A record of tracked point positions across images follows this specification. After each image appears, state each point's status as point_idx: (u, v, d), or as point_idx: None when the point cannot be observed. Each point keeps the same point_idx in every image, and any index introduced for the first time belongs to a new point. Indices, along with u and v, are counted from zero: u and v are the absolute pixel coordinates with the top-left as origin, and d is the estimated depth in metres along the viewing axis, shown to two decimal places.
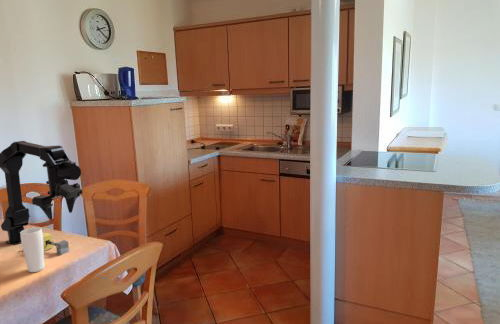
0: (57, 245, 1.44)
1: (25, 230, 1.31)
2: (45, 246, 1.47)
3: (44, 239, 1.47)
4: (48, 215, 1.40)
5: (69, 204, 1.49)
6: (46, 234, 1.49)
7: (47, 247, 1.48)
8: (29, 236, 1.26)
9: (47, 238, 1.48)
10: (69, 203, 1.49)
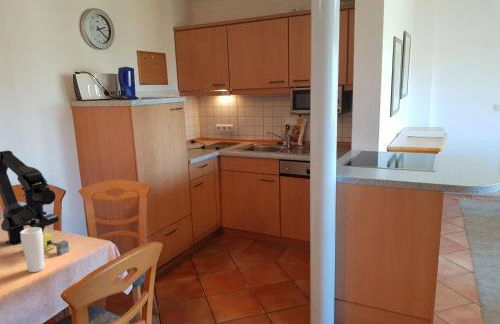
0: (57, 245, 1.44)
1: (25, 230, 1.31)
2: (46, 246, 1.47)
3: (45, 239, 1.46)
4: None
5: None
6: (47, 234, 1.49)
7: (48, 247, 1.48)
8: (29, 236, 1.26)
9: (48, 238, 1.48)
10: None
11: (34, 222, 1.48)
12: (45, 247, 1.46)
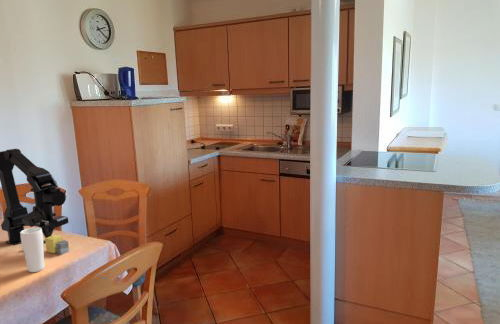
0: (57, 245, 1.44)
1: (25, 230, 1.31)
2: None
3: (55, 241, 1.44)
4: None
5: None
6: (57, 236, 1.47)
7: None
8: (29, 236, 1.26)
9: (58, 240, 1.46)
10: None
11: (43, 224, 1.46)
12: (54, 249, 1.45)
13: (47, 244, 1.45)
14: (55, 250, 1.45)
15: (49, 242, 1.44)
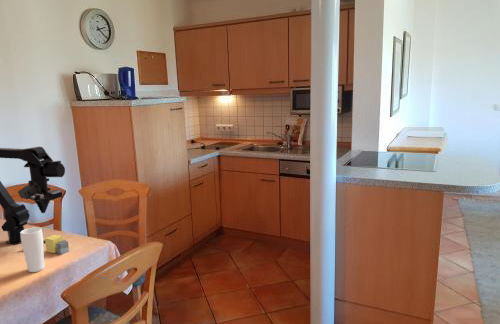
0: (57, 245, 1.44)
1: (25, 230, 1.31)
2: None
3: (55, 241, 1.44)
4: None
5: None
6: (57, 236, 1.47)
7: None
8: (29, 236, 1.26)
9: (58, 240, 1.46)
10: None
11: (38, 197, 1.53)
12: (54, 249, 1.45)
13: (47, 244, 1.45)
14: (55, 250, 1.45)
15: (49, 242, 1.44)
